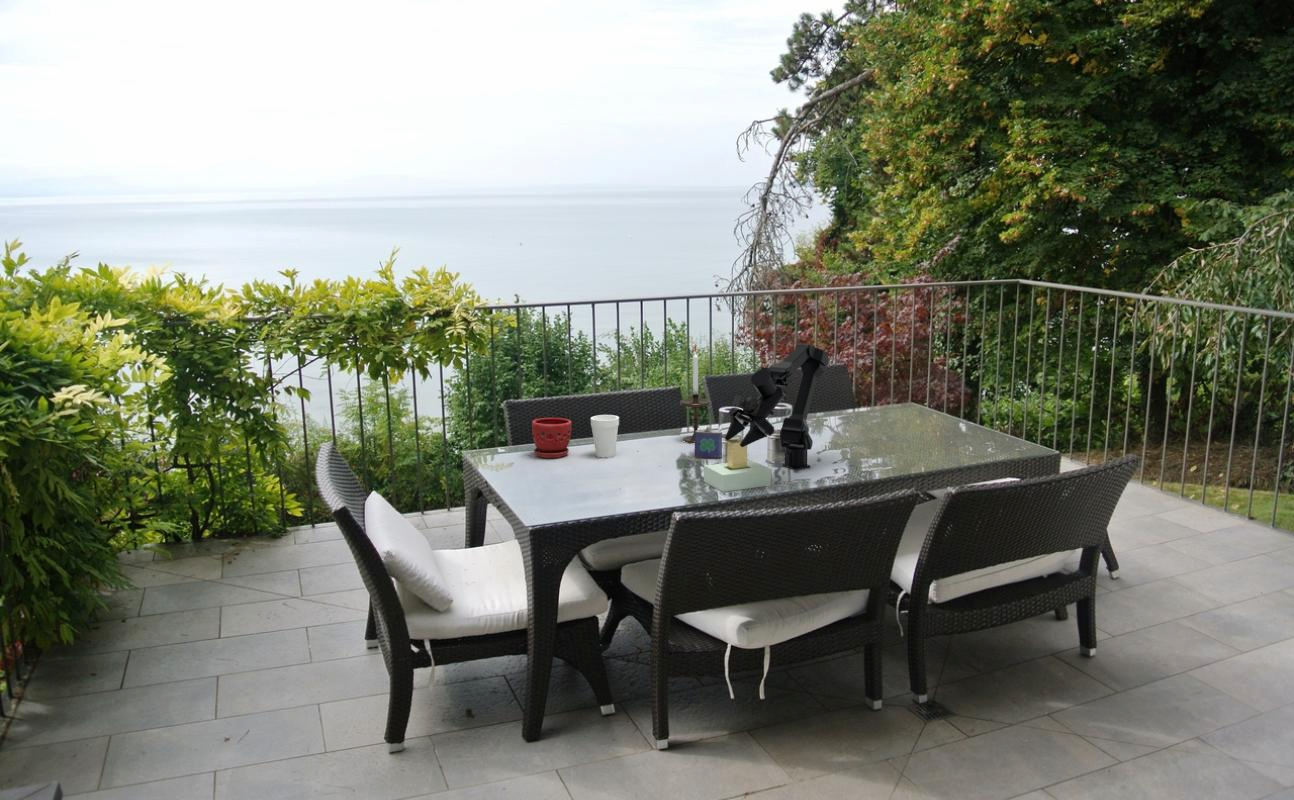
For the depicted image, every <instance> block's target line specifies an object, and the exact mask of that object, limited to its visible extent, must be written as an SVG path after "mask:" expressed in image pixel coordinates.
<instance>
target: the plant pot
mask: <svg viewBox="0 0 1294 800" xmlns="http://www.w3.org/2000/svg"><path fill="white" fill-rule="evenodd" d="M531 432H532V439H533V442H534V445H535V447H536V448H535V449H534V450H533V452H534V455H536V456H538V457H540V458H542V459H556V458H562V457H564V456H566V455H567V454H569V451H570V449H569V448H568V446H569V443H570V441H571V437H572V436H571V435H572V421H571V419H567V418H563V417H562V418H561V417H543V418H542V417H541V418H536V419H534V420H532V421H531ZM543 433H544V435H543Z"/></svg>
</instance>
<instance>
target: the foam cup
mask: <svg viewBox="0 0 1294 800" xmlns="http://www.w3.org/2000/svg"><path fill="white" fill-rule="evenodd" d="M619 425H620V416H618V415H615V414H614V415H613V414H599V415H594V416H591V417H590V426H591V430H592V431H591V432H592V437H593V444H594V450H595V456H596V457H597V456H598V457H597V458H599V457H611V458H614V457H615V456H616V450H617V438H618V430H619ZM613 456H614V457H613Z"/></svg>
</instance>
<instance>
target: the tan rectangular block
mask: <svg viewBox="0 0 1294 800" xmlns="http://www.w3.org/2000/svg"><path fill="white" fill-rule="evenodd" d="M743 439H744V438H743ZM743 439H742V438H741V439H732V440H728V441H727V440H726V441H727V442H726V443H727V444H726V445H727V447H726V448H727V449H726V450H727V451H726V452H727V453H726V455H727V456H726V458H727V461H726V463H727V469H729V470H738V469H745V468H747V460H748V445H746V446H744V447H741V446H740V443H741V442H742V440H743Z"/></svg>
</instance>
